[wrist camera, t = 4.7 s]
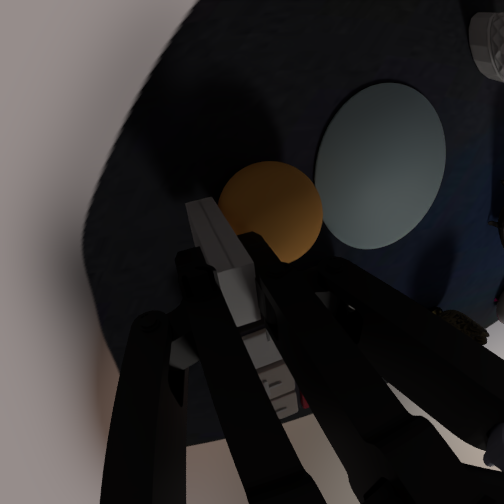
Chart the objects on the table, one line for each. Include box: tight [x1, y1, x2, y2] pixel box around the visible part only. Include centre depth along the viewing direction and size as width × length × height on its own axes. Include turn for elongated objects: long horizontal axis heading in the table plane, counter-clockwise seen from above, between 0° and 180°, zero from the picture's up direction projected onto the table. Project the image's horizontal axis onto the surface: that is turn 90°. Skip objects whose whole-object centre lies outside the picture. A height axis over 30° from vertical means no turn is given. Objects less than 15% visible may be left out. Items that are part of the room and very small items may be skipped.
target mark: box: [314, 83, 446, 249], centre depth 21 cm, size 13×13×1 cm
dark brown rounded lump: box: [429, 307, 489, 345], centre depth 30 cm, size 8×7×8 cm
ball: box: [218, 161, 323, 263], centre depth 16 cm, size 6×6×6 cm
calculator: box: [237, 265, 355, 419], centre depth 26 cm, size 11×4×15 cm
